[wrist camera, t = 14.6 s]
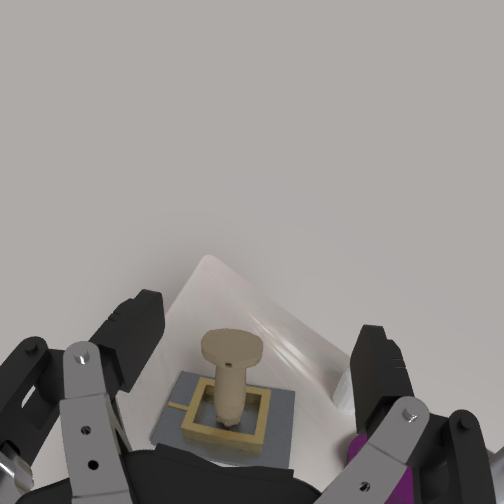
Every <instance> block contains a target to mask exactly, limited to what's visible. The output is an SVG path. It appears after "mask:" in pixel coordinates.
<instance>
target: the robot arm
mask: <svg viewBox="0 0 504 504" xmlns="http://www.w3.org/2000/svg"><path fill="white" fill-rule="evenodd" d="M164 329H165V318H164V309H163V298H162V294H161V293H160V292H155V291H150V290H146V289H143V290H141V292H140V293H139V294H138V295H137V296H136V297H135V298H134V299H131V298H130V299H128V300H126V301H125V302H123V303H121V304H120V305H119V306H118V307H117V308H116V309H115V310H114V312H113V314H111V315H110V316H109V317H108V320H106V321H105V322H104V323H103V324H102V325H101V327H100V328H99V329H98V330H97V331H96V332H95V334H94V335H93V336H92V337H91V338H90V340H89V341H88V342H86V341H81V342H77V343H74V344H72V345H70V346H69V347H68V348H67V349H66V350H55V349H49V348H48V346H47V344H46V341H45V340H44V339H43V338H41V337H36V336H35V337H29V338H26V339H24V340H23V341H22V342H21V343H20V344H19V345H18V346H17V347H16V348H15V349H14V351H13V352H12V353H11V354H10V355H9V356H8V358H7V359H6V360H5V361H4V362H3V364H2V365H1V366H0V504H384V503H385V501H386V500H387V498H388V497H389V496H390V494H391V493H392V491H393V490H394V488H395V487H396V485H397V484H398V482H399V481H400V479H401V477H402V476H403V474H404V472H405V471H406V469H407V466H410V467H412V480H413V498H414V504H499V503H501V502H502V501H504V447H503V448H501V449H500V450H499V451H498V452H497V453H496V454H495V455H494V456H492V457H491V458H490V459H488V455H487V451H486V447H485V443H484V439H483V436H482V432H481V429H480V425H479V422H478V420H477V418H476V417H475V416H474V415H473V414H472V413H471V412H469V411H467V410H457V411H455V412H453V413H452V414H451V416H450V417H449V418H447V417H443V416H439V415H435V414H431V413H429V410H428V408H427V406H426V405H425V404H424V403H423V402H422V401H421V400H419V399H417V398H415V396H414V393H413V389H412V386H411V382H410V379H409V376H408V372H407V369H405V367H406V366H405V363H404V361H403V357H402V354H401V351H400V348H399V347H398V346H397V345H396V344H395V342H394V341H393V340H388V339H387V338H386V335H385V332H384V329H383V327H382V326H374V325H363V327H362V329H361V331H360V334H359V336H358V340H357V342H356V344H355V347H354V349H353V352H352V355H351V359H350V372H351V380H352V388H353V397H354V407H355V417H356V429H357V434H367V441H366V443H365V444H364V445H363V446H362V448H361V449H360V450H359V451H358V453H357V454H356V455H355V456H354V458H353V459H352V460H351V461H350V462H349V464H348V465H347V466H346V467H345V468H344V469H343V470H342V472H341V473H340V474H339V475H338V476H337V477H336V478H335V479H334V480H333V482H332V483H331V484H330V485H329V486H328V487H327V488H326V489H325V490H324V491H323V492H322V493H321V492H320V491H319V490H317V489H316V488H314V487H313V486H312V485H310V484H308V483H306V482H304V481H302V480H299V479H297V478H293V473H294V470H293V469H282V468H273V467H265V466H248V467H221V466H218V465H216V464H214V463H212V462H209V461H207V460H205V459H203V458H201V457H199V456H197V455H195V454H193V453H191V452H189V451H185V450H181V449H178V448H174V447H171V446H168V445H164V444H161V443H157V446H156V448H155V450H136V451H132V448H131V446H130V443H129V441H128V438H127V435H126V432H125V429H124V425H123V421H122V418H121V414H120V410H119V406H118V402H117V398H116V394H117V392H118V391H119V390H122V391H125V392H127V393H129V392H130V390H131V389H132V387H133V385H134V383H135V382H136V380H137V378H138V377H139V375H140V373H141V371H142V370H143V368H144V366H145V365H146V363H147V361H148V359H149V358H150V356H151V354H152V353H153V351H154V349H155V348H156V346H157V344H158V343H159V341H160V339H161V338H162V336H163V333H164ZM33 385H34V387H35V388H36V389H35V391H34V392H33V393H32V395H31V396H30V398H29V399H28V401H27V402H26V404H25V405H24V406H23V408H22V401H23V399H24V398H25V396H26V395H27V393H28V392H29V390H30V389H31V387H32V386H33ZM59 415H60V417H61V427H62V436H63V443H64V450H65V456H66V462H67V468H68V472H69V478H66V479H64V480H61V481H59V482H56V483H53V484H50V485H47V486H44V487H42V488H39V489H36V490H33V491H30V489H32V488H33V486H34V481H33V479H32V471H31V468H30V467H31V465H32V463H33V462H34V460H35V458H36V456H37V454H38V452H39V450H40V449H41V447H42V445H43V443H44V441H45V439H46V438H47V436H48V434H49V432H50V430H51V429H52V427H53V425H54V423H55V422H56V420H57V418H58V417H59Z"/></svg>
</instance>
